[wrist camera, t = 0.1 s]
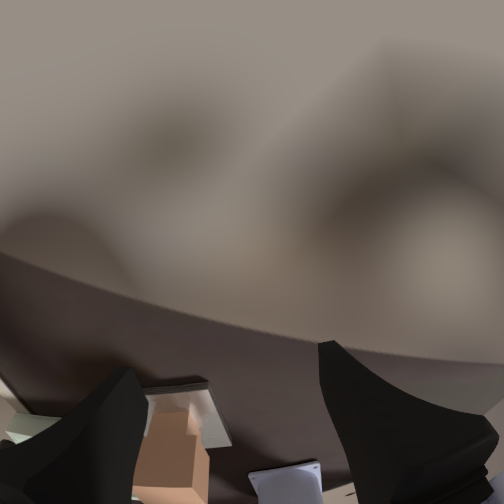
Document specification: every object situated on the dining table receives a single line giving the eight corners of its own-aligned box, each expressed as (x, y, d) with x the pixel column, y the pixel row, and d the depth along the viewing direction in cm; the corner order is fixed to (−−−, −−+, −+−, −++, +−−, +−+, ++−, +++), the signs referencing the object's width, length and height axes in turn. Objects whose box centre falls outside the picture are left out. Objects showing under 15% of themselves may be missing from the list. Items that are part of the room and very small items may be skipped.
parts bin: (155, 478, 28) (151, 501, 25) (64, 469, 28) (57, 486, 25) (109, 419, 24) (99, 445, 21) (16, 412, 25) (4, 430, 21)
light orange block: (210, 433, 24) (207, 505, 16) (158, 437, 24) (144, 504, 17) (199, 410, 23) (191, 487, 15) (143, 414, 23) (124, 485, 16)
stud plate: (232, 438, 26) (232, 466, 22) (155, 443, 26) (150, 469, 22) (208, 381, 23) (205, 412, 20) (122, 389, 23) (111, 417, 20)
